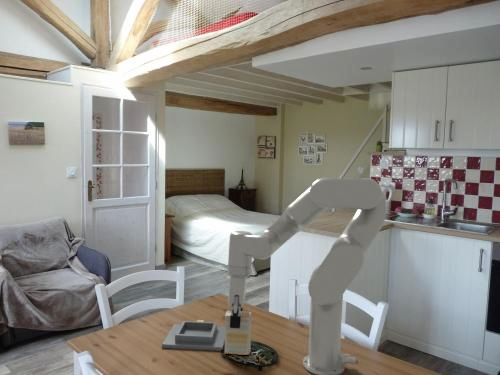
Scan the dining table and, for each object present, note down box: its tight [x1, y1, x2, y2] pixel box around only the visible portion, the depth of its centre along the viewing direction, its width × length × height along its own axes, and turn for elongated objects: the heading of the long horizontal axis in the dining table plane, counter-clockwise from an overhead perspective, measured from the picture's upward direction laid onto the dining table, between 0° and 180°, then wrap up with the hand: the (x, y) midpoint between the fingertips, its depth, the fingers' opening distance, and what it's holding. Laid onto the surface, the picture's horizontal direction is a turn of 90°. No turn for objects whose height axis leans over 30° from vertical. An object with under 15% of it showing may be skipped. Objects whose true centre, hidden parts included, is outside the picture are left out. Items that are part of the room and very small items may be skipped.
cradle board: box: [161, 319, 225, 352], centre depth 140 cm, size 20×17×4 cm
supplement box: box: [224, 310, 252, 356], centre depth 130 cm, size 8×5×13 cm, turn 84°
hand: (236, 321), depth 130 cm, fingers open, 9 cm apart
